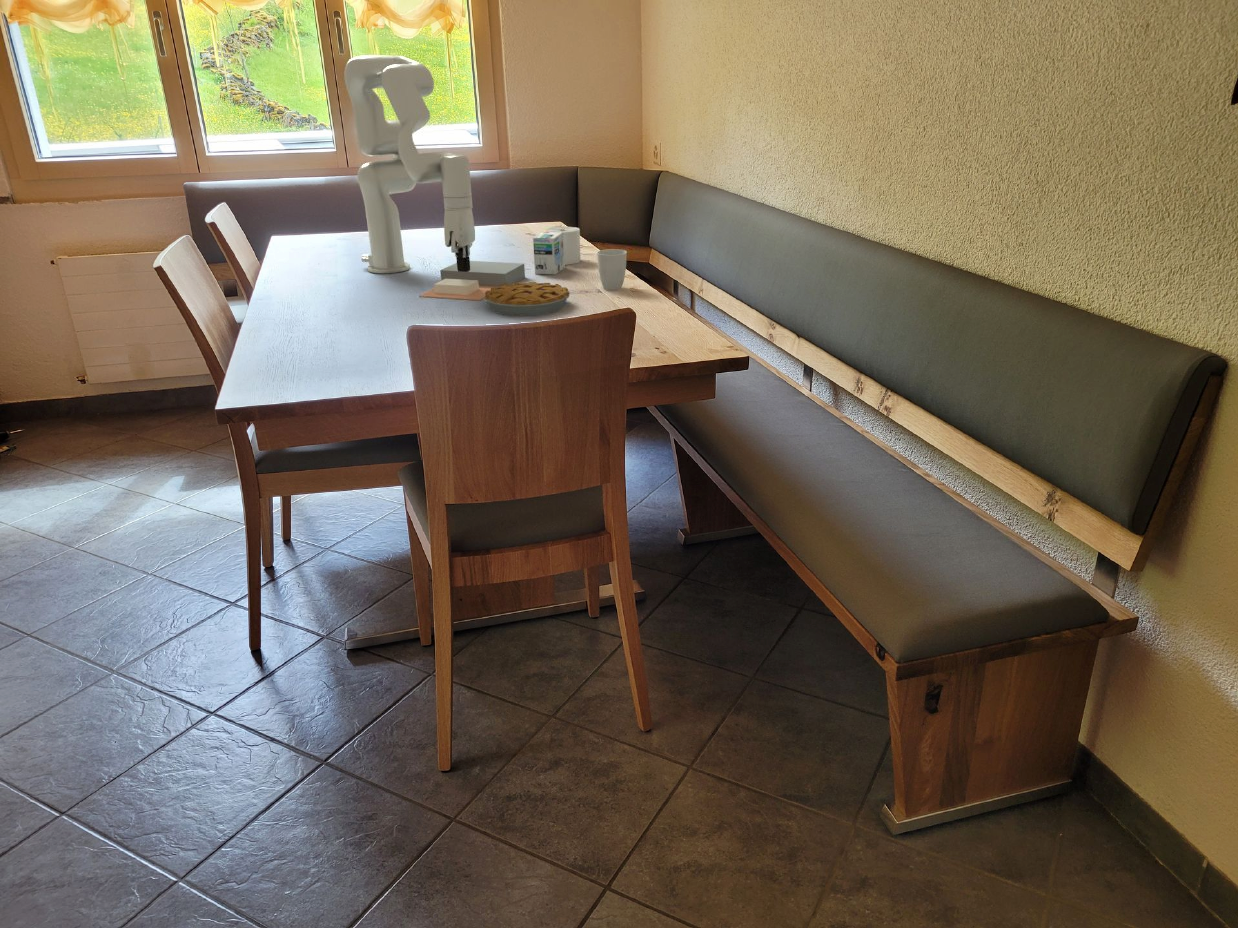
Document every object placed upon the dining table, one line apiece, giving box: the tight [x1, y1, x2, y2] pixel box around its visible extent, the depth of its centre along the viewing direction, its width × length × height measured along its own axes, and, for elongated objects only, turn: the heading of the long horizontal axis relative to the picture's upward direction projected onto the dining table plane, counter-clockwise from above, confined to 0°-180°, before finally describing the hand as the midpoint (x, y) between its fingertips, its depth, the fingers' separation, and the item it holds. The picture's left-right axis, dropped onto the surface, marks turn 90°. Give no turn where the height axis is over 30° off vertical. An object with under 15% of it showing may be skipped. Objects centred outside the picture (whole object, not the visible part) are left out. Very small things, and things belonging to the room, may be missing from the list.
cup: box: [596, 248, 628, 291], centre depth 242 cm, size 8×8×10 cm
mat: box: [418, 285, 497, 302], centre depth 242 cm, size 18×15×1 cm
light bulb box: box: [532, 231, 565, 275], centre depth 264 cm, size 11×7×11 cm, turn 168°
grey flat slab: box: [439, 260, 526, 287], centre depth 254 cm, size 20×14×4 cm
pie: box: [482, 281, 571, 317], centre depth 226 cm, size 22×22×5 cm
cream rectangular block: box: [433, 279, 479, 295], centre depth 242 cm, size 10×7×2 cm
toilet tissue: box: [545, 224, 582, 266], centre depth 276 cm, size 11×12×10 cm
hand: (464, 271), depth 244 cm, fingers closed
